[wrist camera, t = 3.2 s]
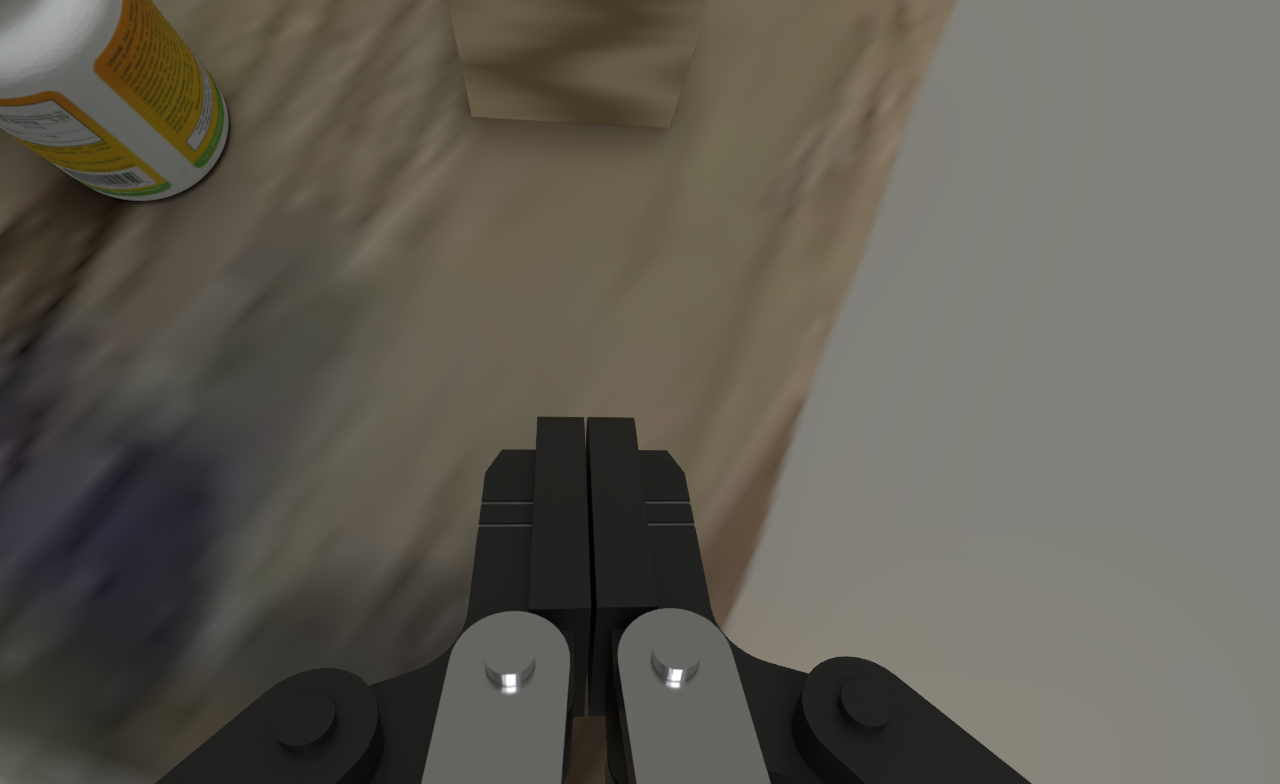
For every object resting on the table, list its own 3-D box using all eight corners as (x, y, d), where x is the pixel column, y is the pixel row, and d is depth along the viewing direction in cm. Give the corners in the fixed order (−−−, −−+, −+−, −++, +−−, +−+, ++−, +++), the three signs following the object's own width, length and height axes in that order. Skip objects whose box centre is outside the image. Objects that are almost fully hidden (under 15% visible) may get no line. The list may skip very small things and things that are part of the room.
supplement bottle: (169, 23, 25) (-72, -277, 15) (267, 143, 25) (86, -84, 15) (22, 111, 24) (-333, -152, 14) (124, 237, 24) (-168, 56, 14)
